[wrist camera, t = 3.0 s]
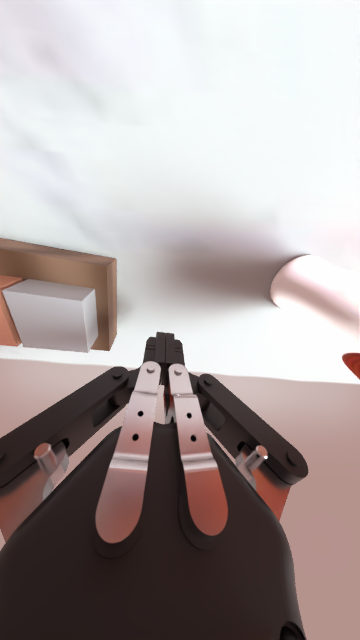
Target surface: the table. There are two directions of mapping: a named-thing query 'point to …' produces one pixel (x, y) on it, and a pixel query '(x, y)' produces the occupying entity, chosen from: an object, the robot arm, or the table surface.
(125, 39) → the table surface
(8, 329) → the terracotta tile
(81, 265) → the walnut board
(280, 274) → the beer glass
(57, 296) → the grey tile
